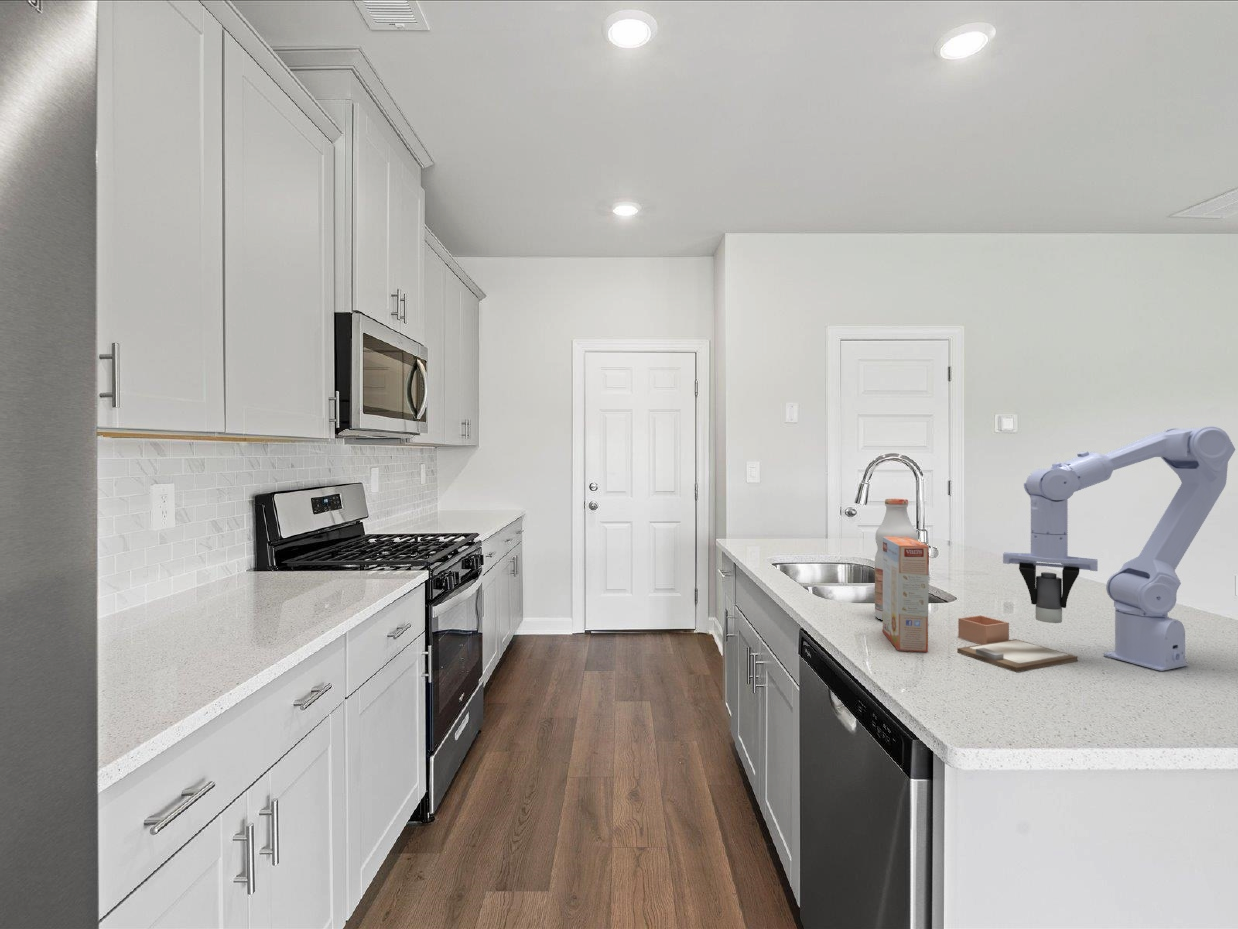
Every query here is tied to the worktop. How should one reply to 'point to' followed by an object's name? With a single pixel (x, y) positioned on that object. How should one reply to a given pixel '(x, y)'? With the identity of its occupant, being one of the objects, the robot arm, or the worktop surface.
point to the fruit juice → (891, 526)
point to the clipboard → (1017, 655)
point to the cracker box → (905, 593)
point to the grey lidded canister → (1048, 598)
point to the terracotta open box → (983, 629)
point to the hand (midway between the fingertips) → (1048, 605)
